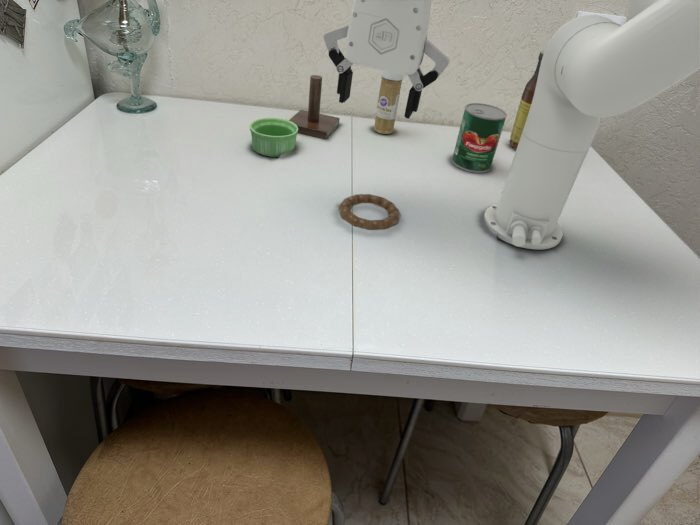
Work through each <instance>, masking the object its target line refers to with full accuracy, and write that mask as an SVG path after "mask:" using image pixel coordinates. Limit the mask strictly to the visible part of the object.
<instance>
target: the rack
mask: <svg viewBox="0 0 700 525" xmlns="http://www.w3.org/2000/svg"><path fill="white" fill-rule="evenodd" d="M322 86H323V76H321V75H317V74H312V75H310V76H309V92H308V95H309V96H308V108H307V110H305V109H300V110H298V112H296V113H295V114H294V115H293V116H292V117H291V118H290V119H288V121H291V122H293V123H294V124H296V125H297V127H298V133H297V134H301V135H306V136H311V137H316V138H319V139H325V140H327V139H328V138H329V136H330V135H332V133H333V132H334V131H335V130H336V128H337V127H338V126H339V125H340V117H337V116H334V115H333V116H332V115H328V114H323V113H320V112H321V98H322Z"/></svg>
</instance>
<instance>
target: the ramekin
mask: <svg viewBox="0 0 700 525" xmlns="http://www.w3.org/2000/svg"><path fill="white" fill-rule="evenodd" d="M249 131H250V135H251V136H250V137H251V145H252V149H253V150H254V151H255V152H256V153H257V154H259V155H262V156H265V157H271V158H280V157H281V156H282V155H283V154H286V153H290V152H292V151H294V149H295V148H296V144H297V136H298V134H299V133H298V127H297V125H296V124H294V123H293V122H291V121H289V119H285V118H279V117H262V118H257V119H255V120H253V121H251V122H250V123H249Z"/></svg>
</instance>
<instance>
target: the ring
mask: <svg viewBox="0 0 700 525" xmlns="http://www.w3.org/2000/svg"><path fill="white" fill-rule="evenodd" d="M359 204H373V205H377V206H379V207H380V208H382V209H384V210H386V212H387V214H388V215H387V217H384V218H383V219H367V218H363V217H359V216H358V215H356V214H354V213H352V211H351V209H352V207H353V206H356V205H359ZM337 210H338V213H339V215H340V217H341V219H342V220H344V222H347V223H348V224H350V225H351V226H353V227H357V228H361V229H364V230H368V231H374V230H375V231H376V230H377V231H378V230H387V229H390V228H391V227H395V226H396V225H398V223H399V220H400V219H401V212H400V210H399V209H398V207H397V205H396V204H395V203H394V202H392V201H391V200H389V199H387V198H386V197H383V196H381V195H380V196H379V195H375V194H370V193H364V194H363V193H362V194H361V193H360V194H359V193H357V194H353V195H351V196H348V197H346V198H344V199H343V200H341V203H340V204H339V206H338V207H337Z"/></svg>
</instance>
